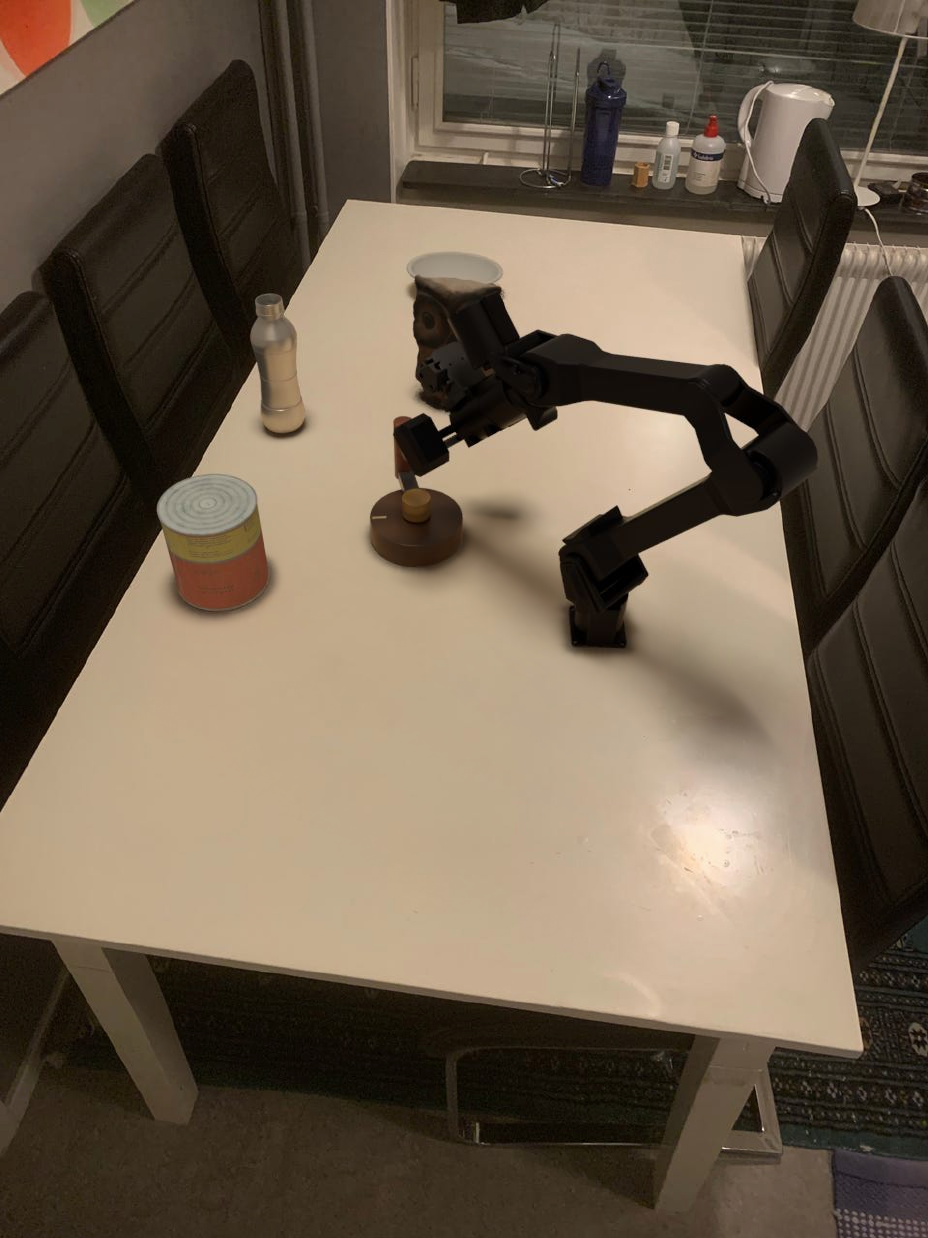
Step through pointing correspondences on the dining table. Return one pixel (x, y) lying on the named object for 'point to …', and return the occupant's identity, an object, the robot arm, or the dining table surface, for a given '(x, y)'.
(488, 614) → the dining table surface
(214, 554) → the canned food
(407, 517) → the crank handle
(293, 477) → the dining table surface
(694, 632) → the dining table surface
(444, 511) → the crank base
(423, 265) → the dish
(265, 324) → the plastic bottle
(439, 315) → the owl
